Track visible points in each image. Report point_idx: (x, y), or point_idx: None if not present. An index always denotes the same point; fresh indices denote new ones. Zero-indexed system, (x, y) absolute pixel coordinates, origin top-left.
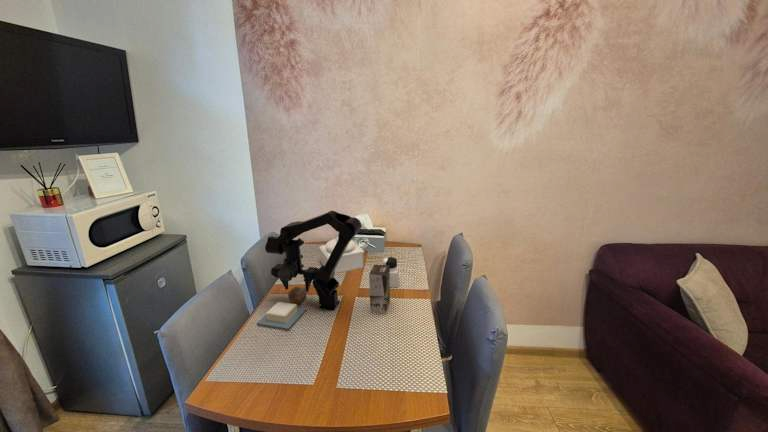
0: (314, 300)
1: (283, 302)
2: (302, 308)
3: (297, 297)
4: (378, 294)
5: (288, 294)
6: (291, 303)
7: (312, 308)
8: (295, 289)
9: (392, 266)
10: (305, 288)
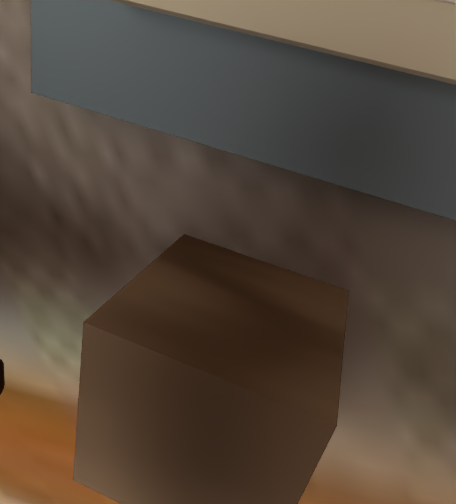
0: (67, 309)
1: (385, 59)
2: (83, 89)
3: (165, 299)
4: None
5: (334, 391)
6: (313, 281)
7: (18, 145)
8: (216, 489)
9: None
10: (78, 472)
